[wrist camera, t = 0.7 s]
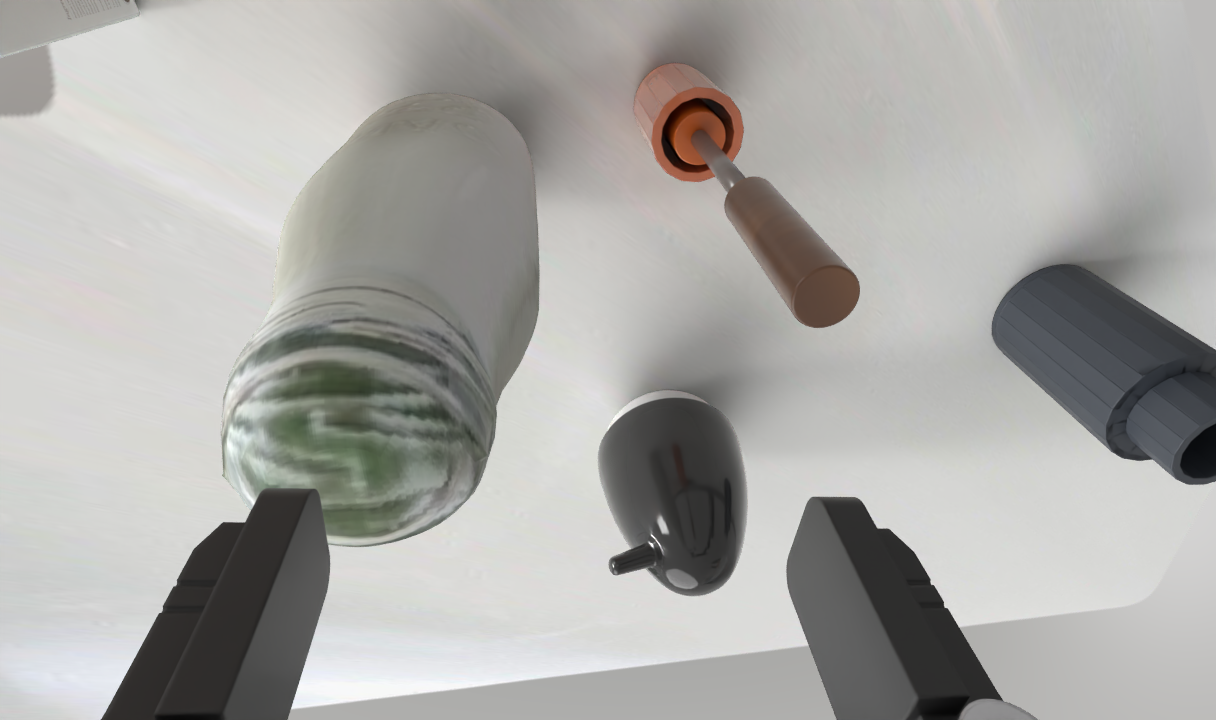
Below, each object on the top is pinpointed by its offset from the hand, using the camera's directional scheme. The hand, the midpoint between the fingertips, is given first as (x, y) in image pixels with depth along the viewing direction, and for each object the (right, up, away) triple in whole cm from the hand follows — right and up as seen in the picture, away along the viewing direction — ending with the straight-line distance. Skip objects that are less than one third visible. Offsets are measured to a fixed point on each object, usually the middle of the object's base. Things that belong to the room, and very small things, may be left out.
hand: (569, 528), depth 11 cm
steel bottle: (+33, +6, +39) cm, 51 cm away
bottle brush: (+4, +17, +28) cm, 33 cm away
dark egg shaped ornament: (+4, -2, +41) cm, 42 cm away
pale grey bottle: (-9, +14, +29) cm, 34 cm away
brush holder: (+4, +18, +29) cm, 34 cm away
